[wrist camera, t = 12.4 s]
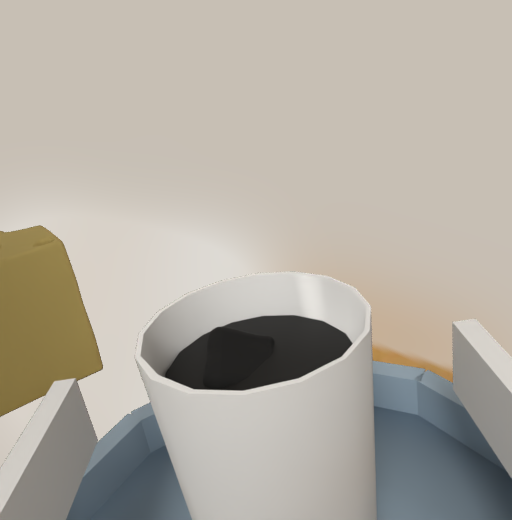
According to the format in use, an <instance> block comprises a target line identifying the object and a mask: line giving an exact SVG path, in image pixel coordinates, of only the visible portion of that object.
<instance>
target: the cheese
mask: <svg viewBox="0 0 512 520" xmlns="http://www.w3.org/2000/svg"><path fill="white" fill-rule="evenodd" d="M102 368H103V365H102V361H101V357H100V354H99V350H98V346H97V343H96V339H95V336H94V333H93V330H92V327H91V324H90V321H89V319H88V316H87V313H86V310H85V307H84V304H83V301H82V298H81V294H80V291H79V287H78V284H77V280H76V277H75V274H74V272H73V269H72V266H71V263H70V260H69V258H68V255H67V252H66V249H65V247H64V244H63V242H62V241H61V240H60V239H58V238H57V237H56V236H55V235H54V234H52V233H51V232H50V231H49V230H47V229H46V228H44V227H43V226H35V227H31V228H27V229H22V230H18V231H12V232H3V231H0V417H1V416H2V415H5V414H7V413H9V412H11V411H13V410H15V409H17V408H19V407H21V406H23V405H26V404H27V403H29V402H32V401H34V400H36V399H38V398H40V397H42V396H45V395H46V394H47V392H48V391H49V389H50V387H51V386H52V384H53V383H54V381H59V380H66V379H73V378H76V380H77V381H78V380H80V379H83V378H85V377H87V376H89V375H91V374H94V373H96V372H98V371H100V370H102Z"/></svg>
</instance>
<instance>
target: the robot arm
mask: <svg viewBox="0 0 512 520" xmlns="http://www.w3.org/2000/svg"><path fill="white" fill-rule="evenodd" d="M452 327H453V390H454V392H455V393H456V395H457V396H458V398H459V399H460V401H461V402H462V404H463V405H464V407H465V408H466V410H467V411H468V413H469V414H470V416H471V417H472V419H473V420H474V422H475V424H476V425H477V427H478V428H479V430H480V431H481V433H482V434H483V436H484V437H485V439H486V440H487V442H488V443H489V445H490V446H491V448H492V449H493V451H494V452H495V454H496V456H497V457H498V459H499V460H500V462H501V463H502V465H503V466H504V468H505V469H506V471H507V472H508V474H509V475H510V477H511V478H512V357H511V356H510V355H509V354H508V353H507V352H506V351H505V350H504V349H503V348H502V347H501V346H500V345H499V343H498V342H497V341H495V339H494V338H493V337H492V336H491V335H490V334H489V333H488V332H487V331H486V330H485V328H483V326H482V325H481V324H480V323H479V322H478V321H477V320H476V319H470V320H464V321H457V322H453V323H452ZM97 441H98V439H97V436H96V434H95V431H94V428H93V425H92V422H91V420H90V417H89V414H88V411H87V408H86V406H85V403H84V400H83V397H82V394H81V392H80V389H79V386H78V383H77V380H76V378H73V379H66V380H59V381H54V383H53V384H52V386H51V387H50V389H49V391H48V392H47V394H46V395H45V397H44V399H43V400H42V402H41V404H40V405H39V407H38V408H37V410H36V412H35V413H34V415H33V417H32V418H31V420H30V421H29V423H28V424H27V426H26V428H25V429H24V431H23V432H22V434H21V436H20V437H19V439H18V441H17V442H16V444H15V445H14V447H13V449H12V450H11V452H10V453H9V455H8V457H7V458H6V460H5V462H4V463H3V465H2V466H1V468H0V520H66V518H67V516H68V513H69V511H70V508H71V506H72V503H73V501H74V498H75V496H76V493H77V491H78V488H79V486H80V483H81V481H82V478H83V476H84V473H85V471H86V468H87V466H88V463H89V461H90V458H91V456H92V453H93V451H94V448H95V446H96V444H97Z"/></svg>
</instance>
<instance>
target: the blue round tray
mask: <svg viewBox="0 0 512 520" xmlns="http://www.w3.org/2000/svg"><path fill="white" fill-rule="evenodd" d="M373 397H374V433H375V468H376V504H377V520H512V478H511V477H510V475H509V474H508V472H507V471H506V469H505V468H504V466H503V465H502V463H501V462H500V460H499V459H498V457H497V456H496V454H495V452H494V451H493V449H492V448H491V446H490V445H489V443H488V442H487V440H486V439H485V437H484V436H483V434H482V433H481V431H480V430H479V428H478V427H477V425H476V424H475V422H474V420H473V419H472V417H471V416H470V414H469V413H468V411H467V410H466V408H465V407H464V405H463V404H462V402H461V401H460V399H459V398H458V396H457V395H456V393H455V392H454V390H453V383H452V382H450V381H448V380H446V379H444V378H442V377H440V376H439V375H437V374H435V373H433V372H431V371H429V370H427V371H426V372H425V369H422V368H415V367H409V366H403V365H396V364H390V363H383V362H377V361H373ZM66 520H192V518H191V515H190V513H189V510H188V507H187V504H186V501H185V498H184V496H183V493H182V490H181V487H180V484H179V481H178V479H177V476H176V473H175V470H174V467H173V464H172V462H171V459H170V456H169V453H168V450H167V448H166V445H165V442H164V439H163V436H162V433H161V431H160V428H159V425H158V422H157V419H156V416H155V414H154V411H153V408H152V405H151V402H150V403H149V404H146V405H144V406H142V407H140V408H138V409H136V410H133V411H132V412H131V414H127V415H126V416H125V417H124V418H123V419H122V420H121V421H120V422H119V423H118V424H117V425H115V426H114V427H113V428H112V429H111V430H110V431H109V432H108V433H107V434H106V435H105V436H104V437H103V438H102V439H101V440H99V442H97V444H96V446H95V448H94V451H93V453H92V456H91V458H90V461H89V463H88V466H87V468H86V471H85V473H84V476H83V478H82V481H81V483H80V486H79V488H78V491H77V493H76V496H75V498H74V501H73V503H72V506H71V508H70V511H69V513H68V516H67V518H66Z"/></svg>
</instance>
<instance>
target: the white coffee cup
mask: <svg viewBox="0 0 512 520" xmlns="http://www.w3.org/2000/svg"><path fill="white" fill-rule="evenodd" d="M135 360H136V363H137V366H138V368H139V371H140V374H141V377H142V380H143V382H144V385H145V388H146V391H147V394H148V397H149V399H150V402H151V405H152V408H153V411H154V414H155V416H156V419H157V422H158V425H159V428H160V431H161V433H162V436H163V439H164V442H165V445H166V448H167V450H168V453H169V456H170V459H171V462H172V464H173V467H174V470H175V473H176V476H177V479H178V481H179V484H180V487H181V490H182V493H183V496H184V498H185V501H186V504H187V507H188V510H189V513H190V515H191V518H192V520H377V504H376V468H375V433H374V397H373V361H372V328H371V306H370V304H369V303H368V302H367V301H366V300H365V299H364V297H363V296H362V295H361V294H360V293H359V292H358V290H356V288H355V287H352V286H350V285H348V284H345V283H343V282H341V281H338V280H336V279H334V278H331V277H329V276H324V275H317V274H310V273H302V272H295V271H291V272H269V273H255V274H251V275H245V276H241V277H236V278H231V279H226V280H221V281H218V282H216V283H213V284H210V285H208V286H205V287H202V288H200V289H197V290H194V291H192V292H189V293H187V294H185V295H183V296H182V297H180V298H178V299H177V300H175V301H174V302H172V303H171V304H169V305H167V306H166V307H164V308H162V309H161V310H159V311H158V312H157V313H156V314H155V315H154V316H153V317H152V318H151V320H150V321H149V322H148V323H147V324H146V326H145V327H144V328H143V329H142V330H141V331H140V332H139V334H138V340H137V346H136V352H135Z"/></svg>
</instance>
